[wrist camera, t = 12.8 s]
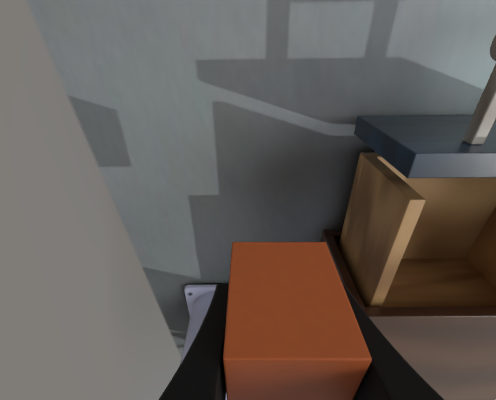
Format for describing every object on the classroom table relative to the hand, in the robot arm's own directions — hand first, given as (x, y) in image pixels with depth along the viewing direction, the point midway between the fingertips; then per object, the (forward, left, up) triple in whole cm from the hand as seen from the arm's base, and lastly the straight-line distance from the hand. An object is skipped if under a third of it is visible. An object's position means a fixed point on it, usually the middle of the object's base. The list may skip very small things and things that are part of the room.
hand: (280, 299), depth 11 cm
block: (0, 0, -1) cm, 1 cm away
